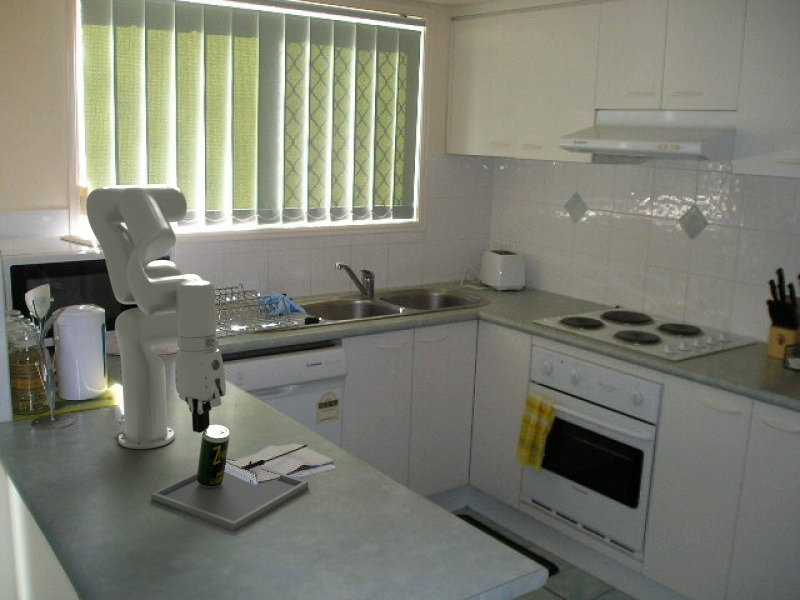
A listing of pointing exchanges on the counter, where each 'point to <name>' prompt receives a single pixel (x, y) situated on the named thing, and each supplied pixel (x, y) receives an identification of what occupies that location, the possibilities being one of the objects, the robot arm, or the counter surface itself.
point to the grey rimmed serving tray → (229, 498)
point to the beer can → (213, 456)
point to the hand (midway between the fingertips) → (201, 430)
